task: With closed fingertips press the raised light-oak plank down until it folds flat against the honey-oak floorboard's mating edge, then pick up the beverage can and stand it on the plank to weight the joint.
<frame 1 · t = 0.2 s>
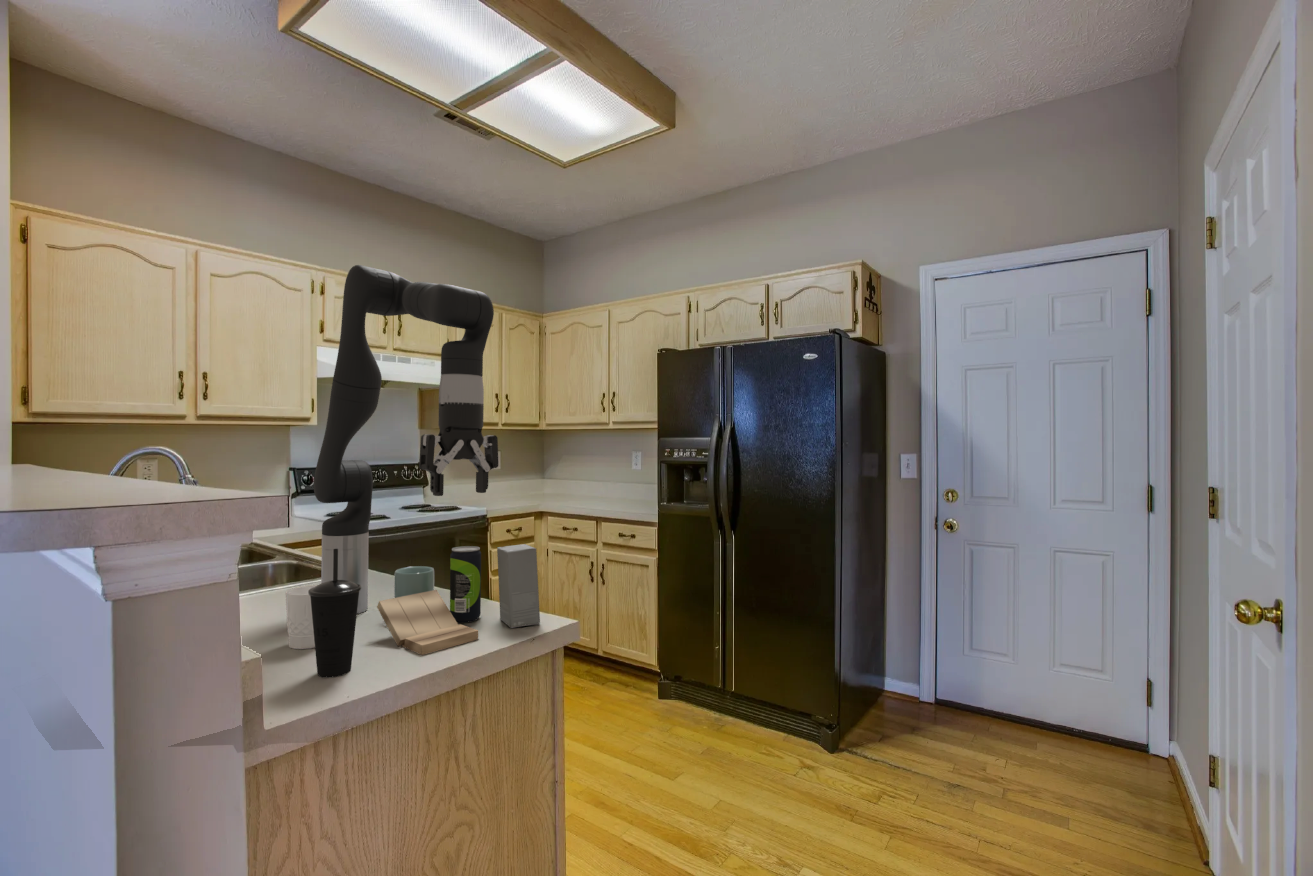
hand: (459, 494, 108), 28 cm above the table, fingers open, 8 cm apart
white cup: (309, 644, 114), on the table
plank: (418, 616, 119), point 4 cm above the table, hinge at 35.0°
cup: (414, 617, 132), on the table
beverage can: (465, 620, 130), on the table
skincare box: (517, 623, 128), on the table
floorboard: (442, 643, 114), on the table
drinking cup: (334, 673, 100), on the table
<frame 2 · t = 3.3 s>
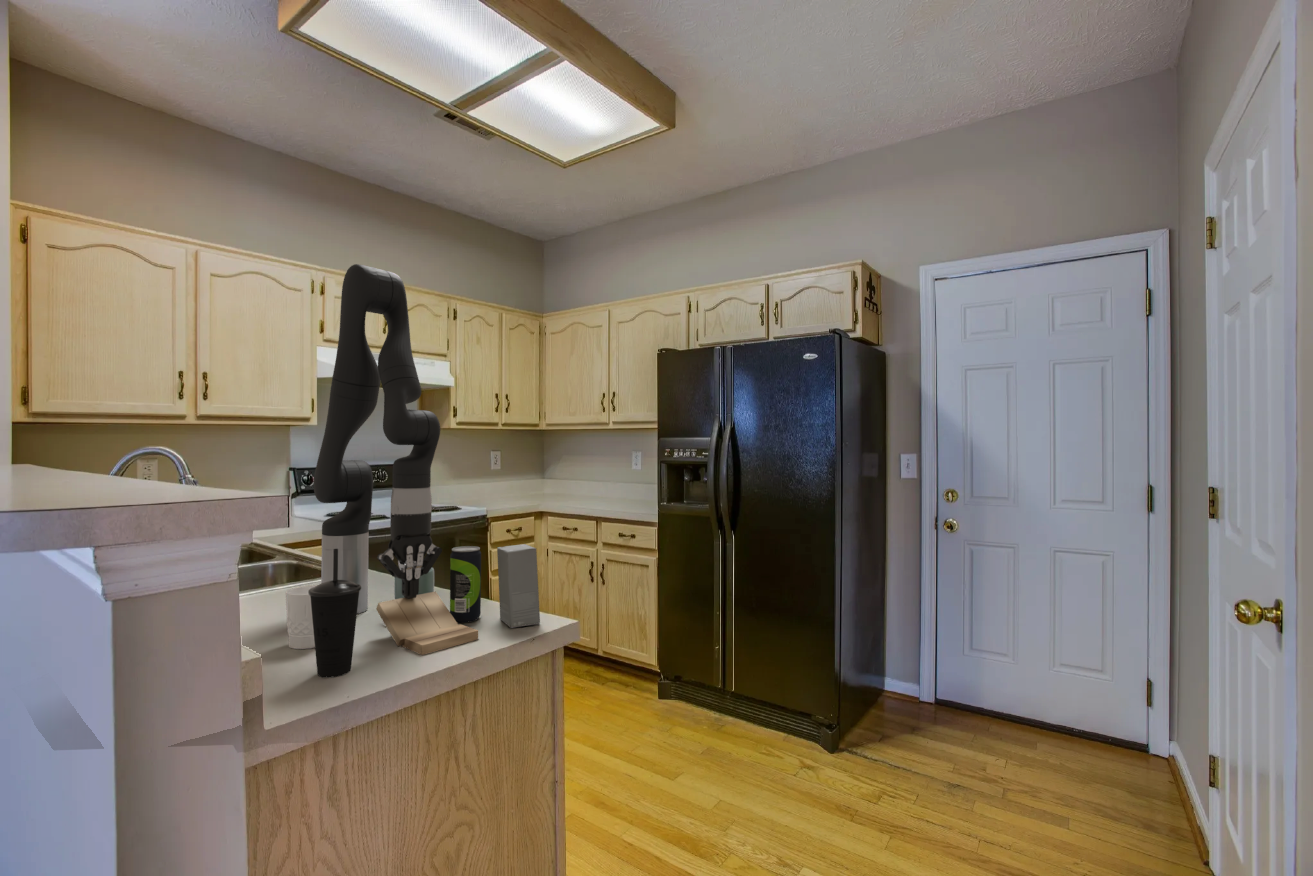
hand: (410, 597, 122), 7 cm above the table, fingers closed
plank: (417, 617, 120), point 3 cm above the table, hinge at 32.0°, touching gripper
everything else where it was.
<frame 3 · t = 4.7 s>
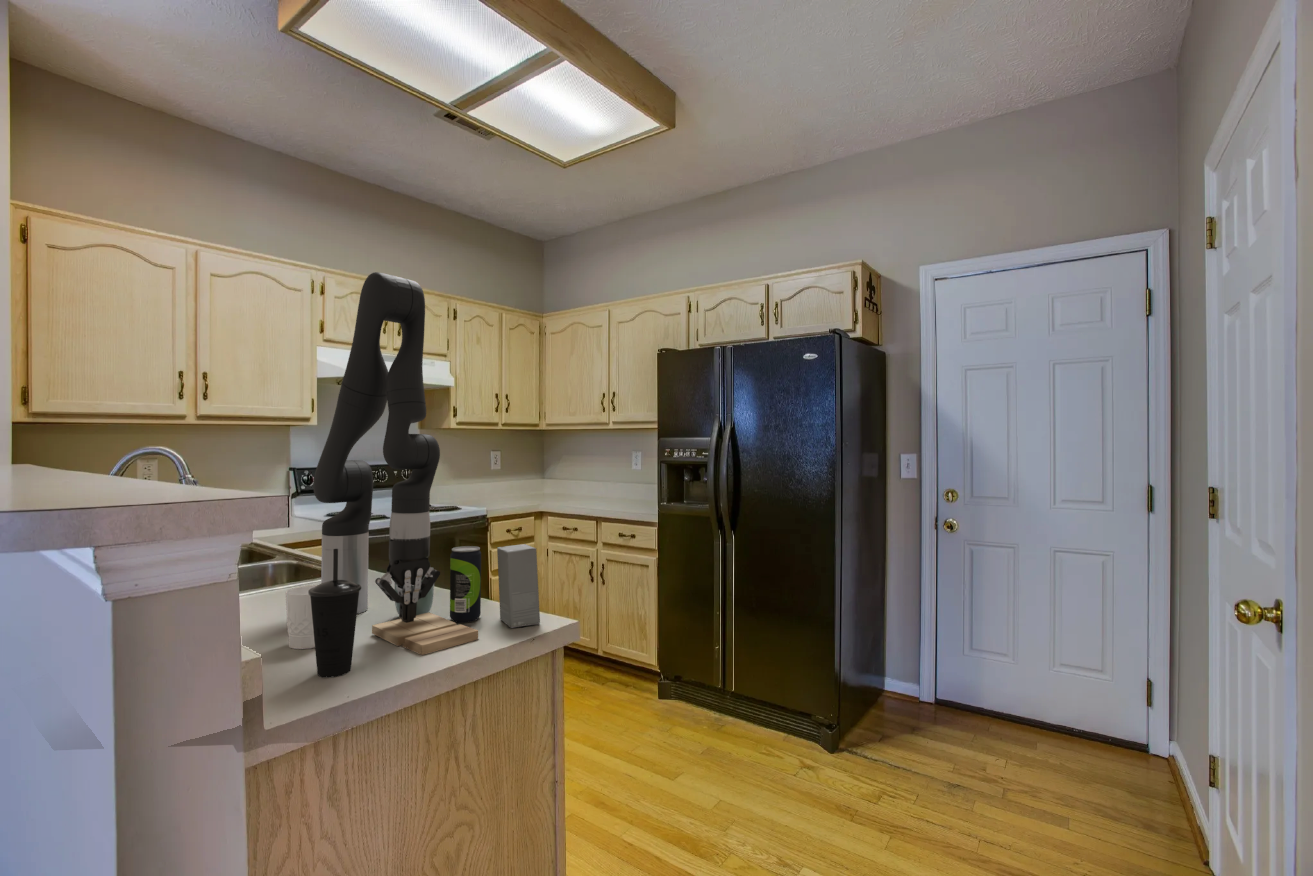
hand: (407, 621, 122), 2 cm above the table, fingers closed
plank: (414, 628, 120), point 1 cm above the table, hinge at 1.8°, touching gripper
everything else where it was.
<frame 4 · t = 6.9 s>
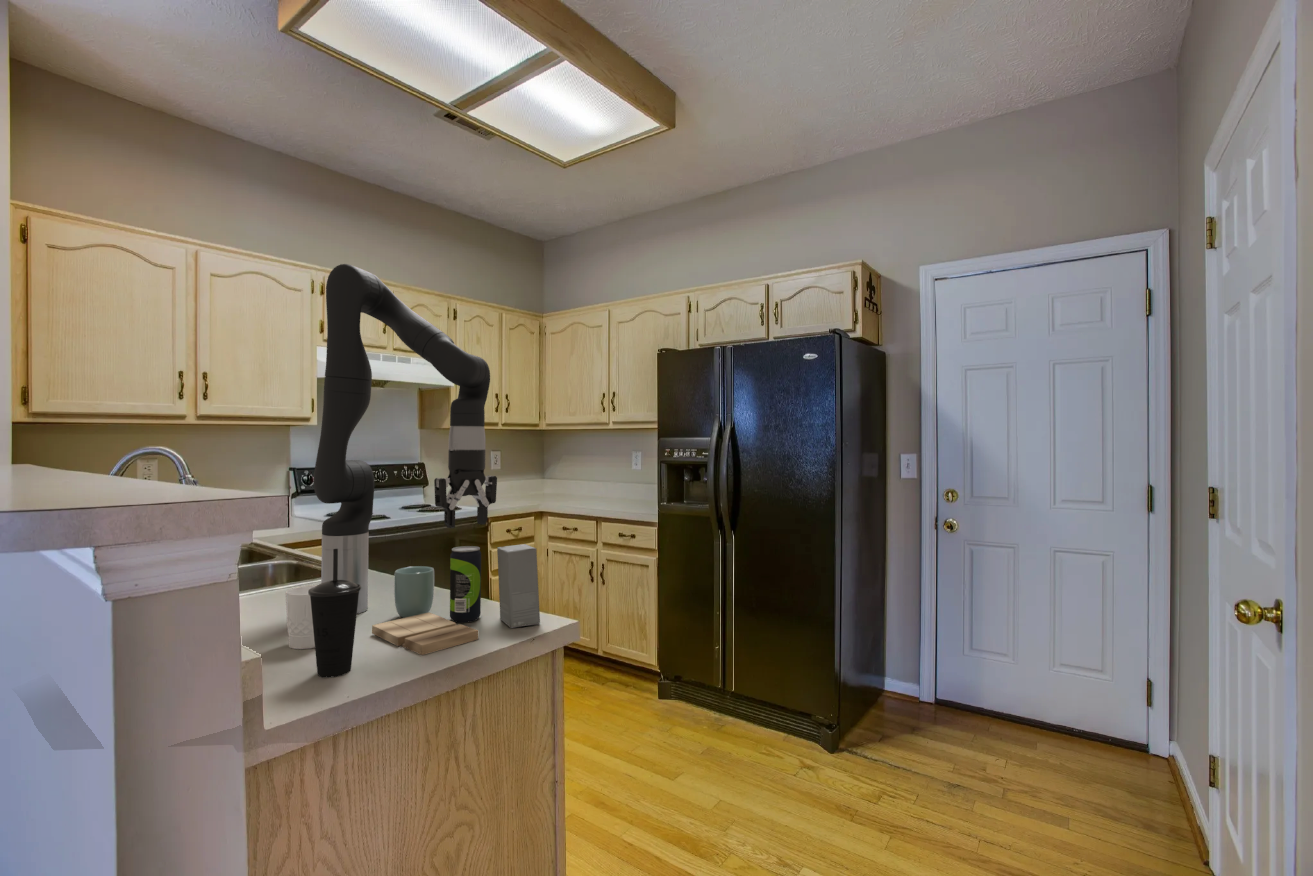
hand: (466, 525, 130), 20 cm above the table, fingers open, 7 cm apart
plank: (414, 628, 120), point 1 cm above the table, hinge at 1.8°
everything else where it was.
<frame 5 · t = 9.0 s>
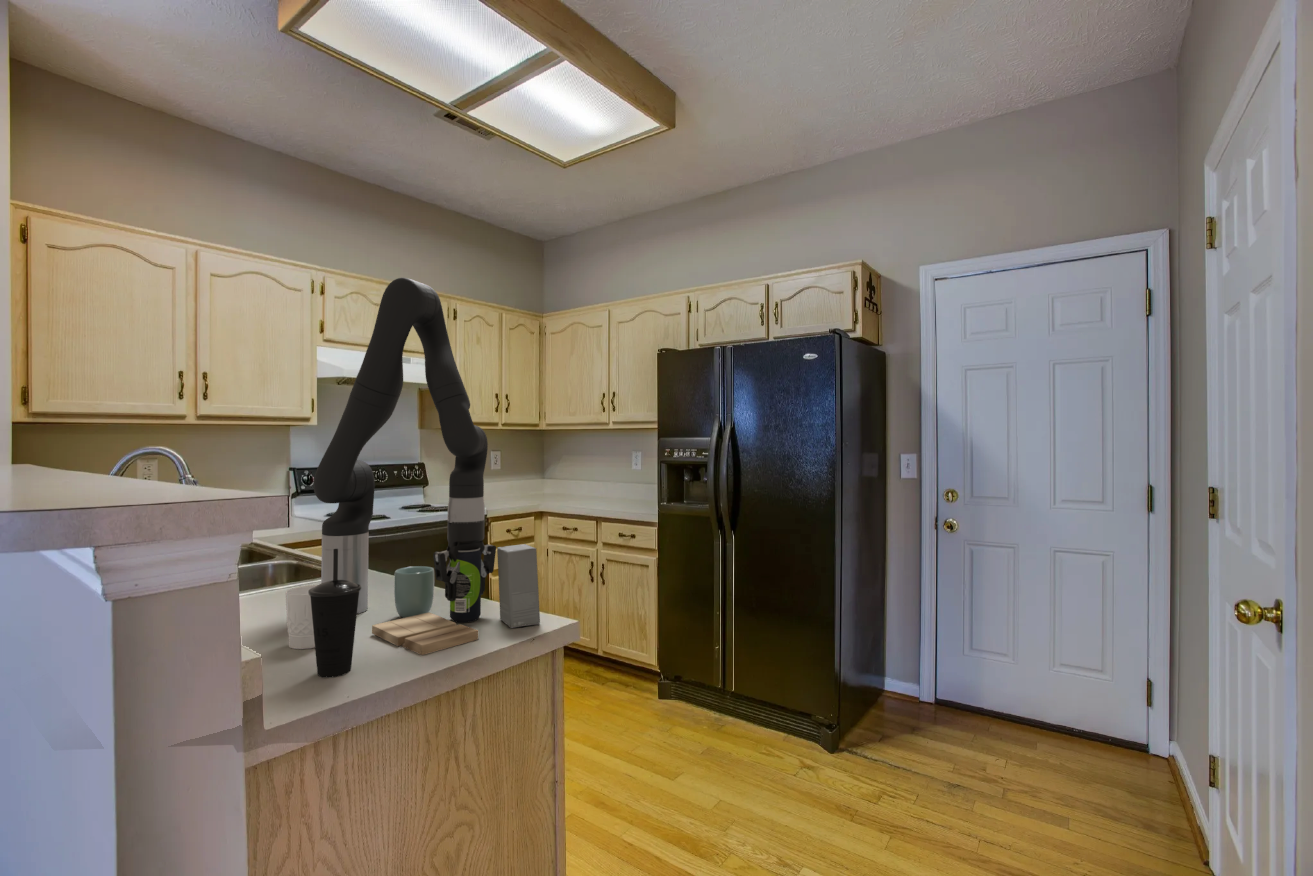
hand: (465, 597, 130), 5 cm above the table, fingers closed on beverage can, 6 cm apart
beverage can: (465, 620, 130), on the table, touching gripper
everything else where it was.
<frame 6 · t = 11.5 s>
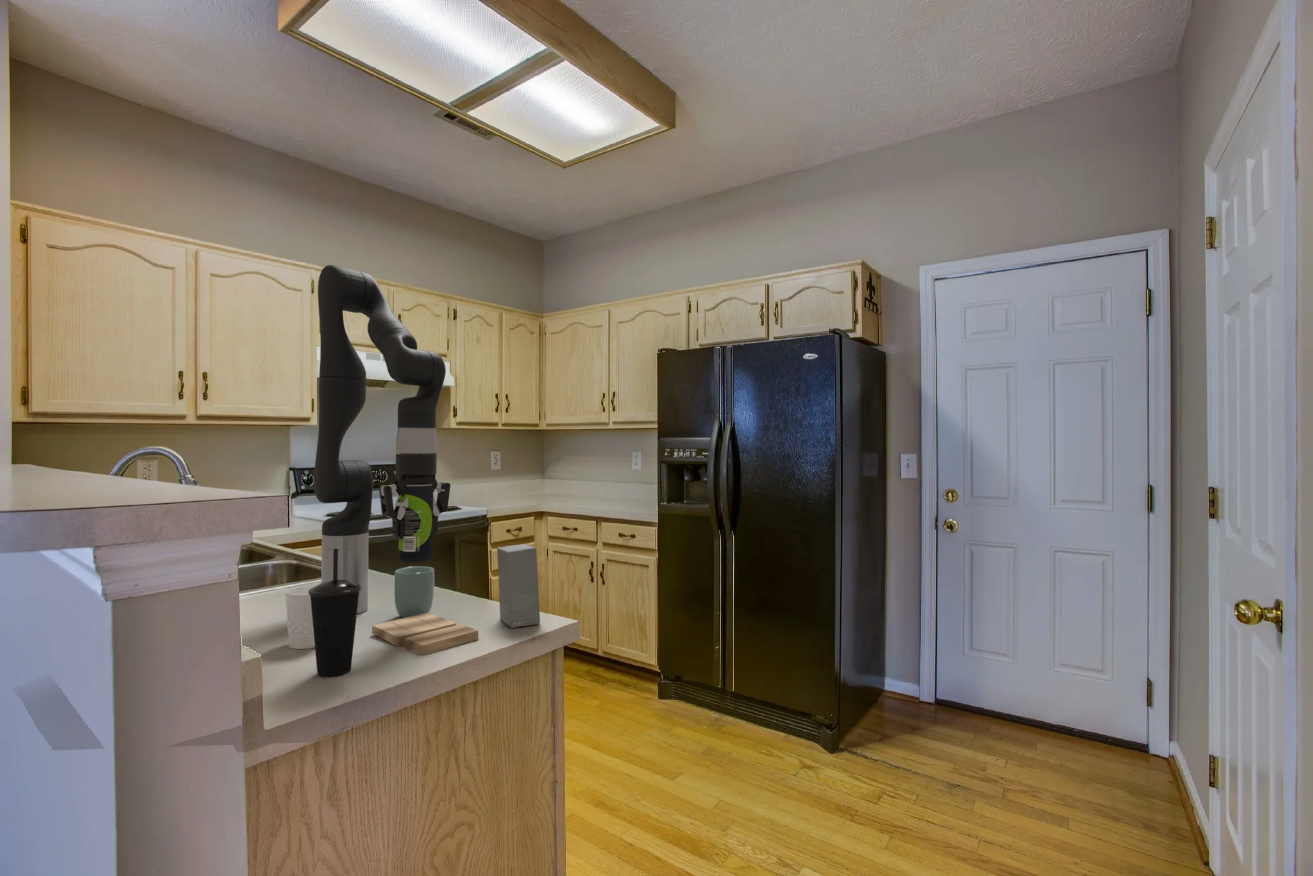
hand: (415, 536, 121), 19 cm above the table, fingers closed on beverage can, 6 cm apart
beverage can: (415, 561, 121), point 14 cm above the table, touching gripper
everything else where it was.
when the fingers open (7 cm above the table, at t = 14.1 s): beverage can stays where it is, resting on plank.
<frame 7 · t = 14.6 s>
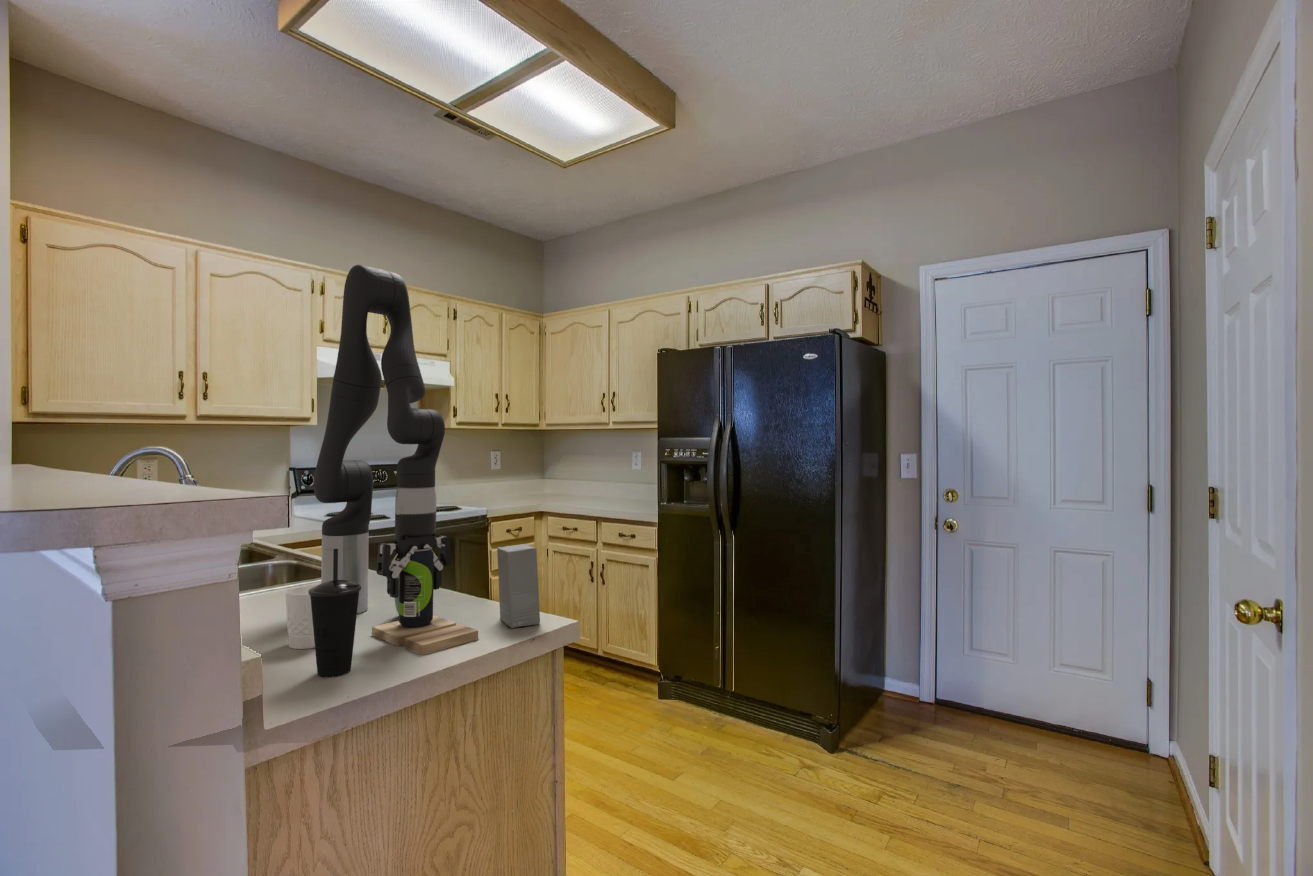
hand: (414, 592, 120), 8 cm above the table, fingers open, 8 cm apart
plank: (414, 628, 120), point 1 cm above the table, hinge at 0.1°, touching beverage can
beverage can: (416, 625, 121), point 2 cm above the table, touching plank
everything else where it was.
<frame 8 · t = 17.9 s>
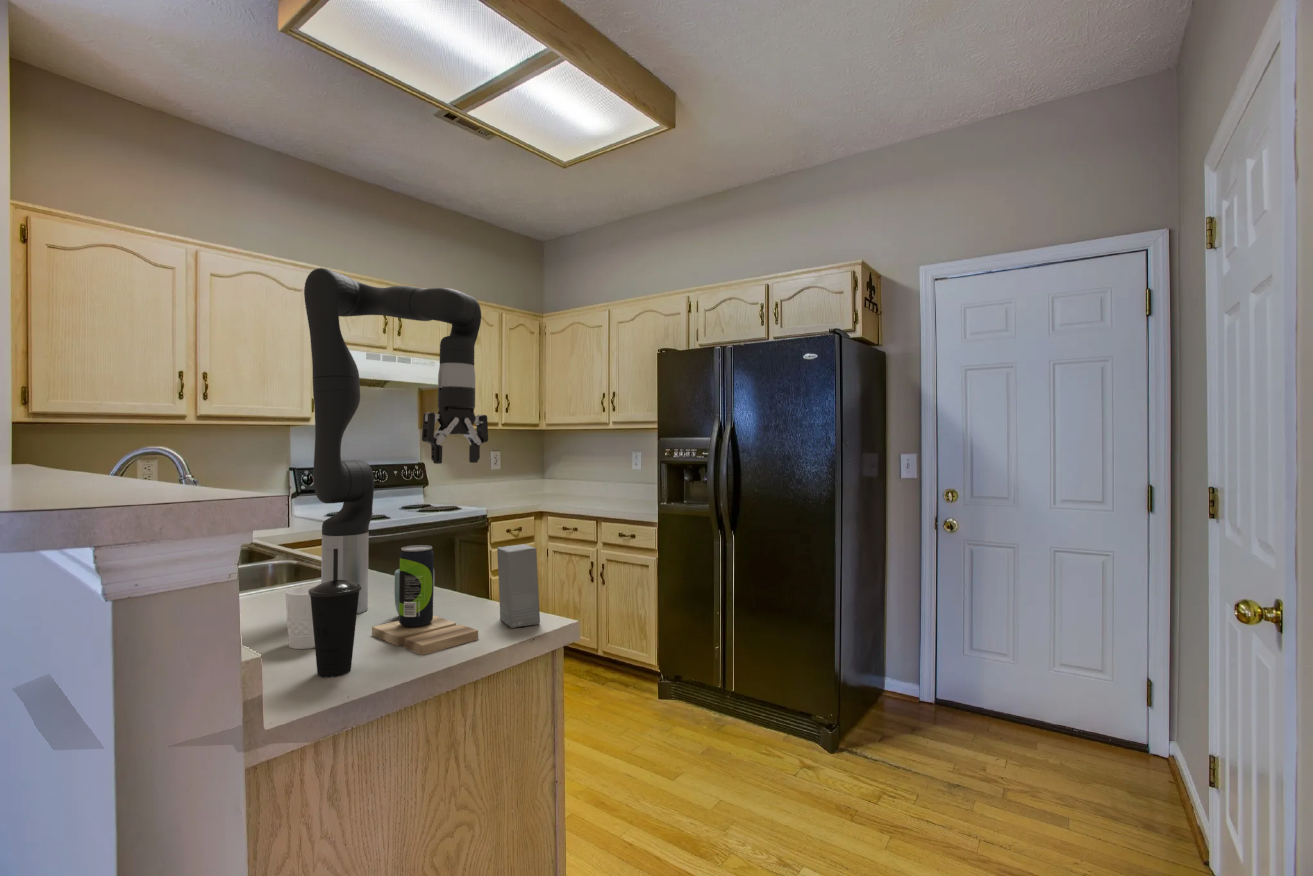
hand: (455, 463, 130), 33 cm above the table, fingers open, 8 cm apart
nothing on the table moved.
at the end: plank at +0° (first picture: +35°); beverage can inside the target area (0.4 cm from its centre), point 1.5 cm above the table; beverage can tilted 0° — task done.
